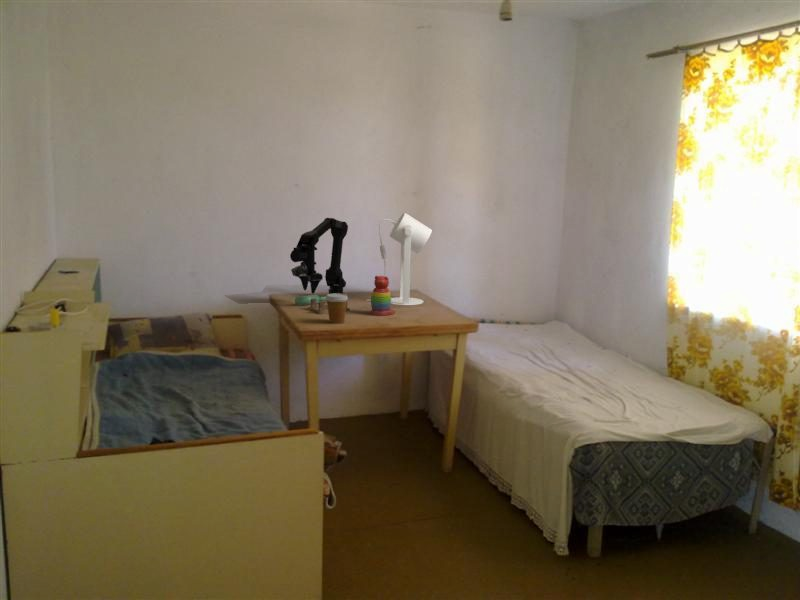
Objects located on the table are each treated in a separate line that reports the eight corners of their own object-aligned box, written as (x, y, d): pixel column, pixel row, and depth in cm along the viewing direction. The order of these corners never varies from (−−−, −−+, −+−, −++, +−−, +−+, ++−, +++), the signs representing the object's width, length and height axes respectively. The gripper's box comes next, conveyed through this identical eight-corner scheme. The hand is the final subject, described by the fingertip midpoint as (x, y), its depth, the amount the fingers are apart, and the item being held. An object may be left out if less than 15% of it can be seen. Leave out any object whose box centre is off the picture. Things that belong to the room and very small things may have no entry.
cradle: (338, 306, 318) (338, 296, 317) (349, 310, 308) (350, 300, 307) (308, 309, 309) (308, 298, 308) (319, 314, 299) (319, 303, 298)
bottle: (299, 301, 314) (296, 294, 316) (297, 307, 317) (294, 300, 319) (330, 298, 322) (327, 292, 325) (328, 304, 325) (325, 297, 328)
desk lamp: (432, 305, 323) (435, 214, 314) (367, 305, 320) (368, 213, 311) (426, 297, 343) (429, 211, 335) (366, 297, 341) (367, 210, 332)
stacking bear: (396, 312, 305) (397, 275, 302) (386, 317, 296) (387, 278, 293) (375, 310, 310) (376, 273, 306) (365, 314, 301) (366, 276, 297)
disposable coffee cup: (326, 319, 289) (326, 293, 286) (347, 319, 290) (347, 293, 287) (325, 324, 279) (325, 297, 277) (347, 324, 280) (348, 297, 278)
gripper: (285, 258, 317) (285, 290, 320) (301, 263, 302) (301, 296, 305) (306, 257, 323) (306, 288, 326) (322, 262, 308) (323, 294, 311)
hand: (308, 291), depth 317 cm, fingers open, 9 cm apart
